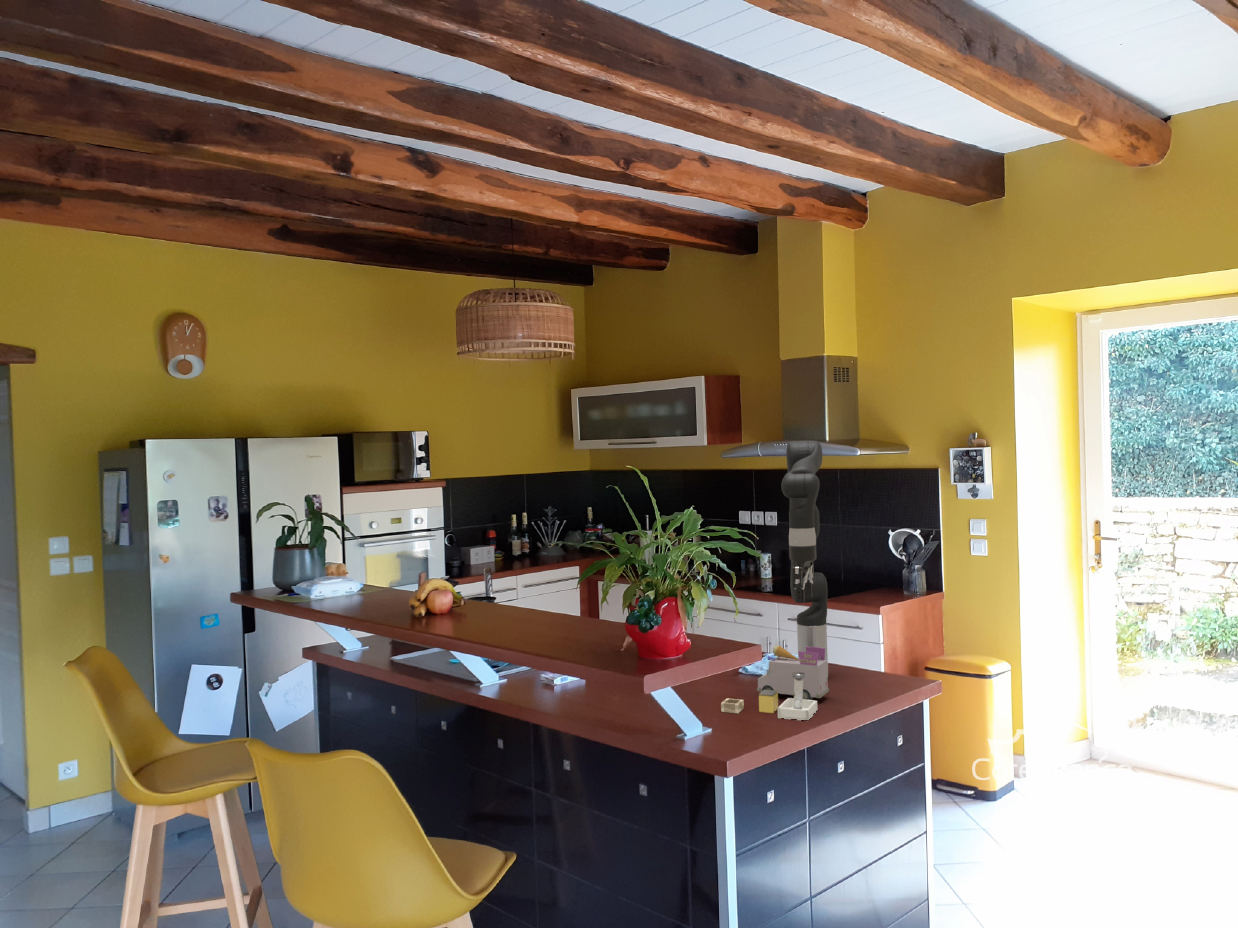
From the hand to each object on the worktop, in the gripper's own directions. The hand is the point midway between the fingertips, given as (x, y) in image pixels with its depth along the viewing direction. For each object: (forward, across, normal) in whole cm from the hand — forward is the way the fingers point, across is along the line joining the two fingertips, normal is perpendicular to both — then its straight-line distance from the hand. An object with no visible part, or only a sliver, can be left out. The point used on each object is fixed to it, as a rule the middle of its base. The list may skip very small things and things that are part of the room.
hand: (804, 600), depth 265 cm
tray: (+30, -10, 0) cm, 32 cm away
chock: (+30, -8, +9) cm, 33 cm away
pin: (+29, -10, 0) cm, 31 cm away
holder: (+30, -12, +18) cm, 37 cm away
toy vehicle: (+30, +6, +6) cm, 32 cm away
